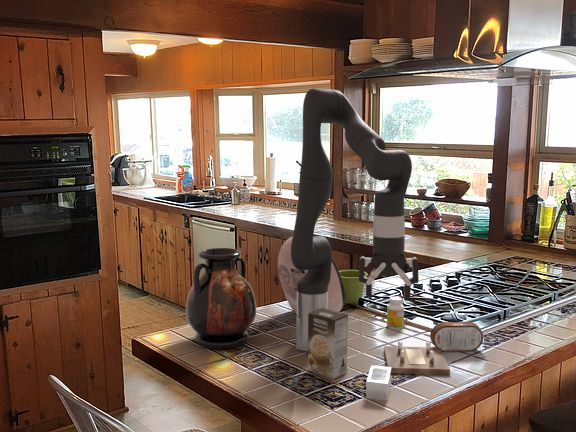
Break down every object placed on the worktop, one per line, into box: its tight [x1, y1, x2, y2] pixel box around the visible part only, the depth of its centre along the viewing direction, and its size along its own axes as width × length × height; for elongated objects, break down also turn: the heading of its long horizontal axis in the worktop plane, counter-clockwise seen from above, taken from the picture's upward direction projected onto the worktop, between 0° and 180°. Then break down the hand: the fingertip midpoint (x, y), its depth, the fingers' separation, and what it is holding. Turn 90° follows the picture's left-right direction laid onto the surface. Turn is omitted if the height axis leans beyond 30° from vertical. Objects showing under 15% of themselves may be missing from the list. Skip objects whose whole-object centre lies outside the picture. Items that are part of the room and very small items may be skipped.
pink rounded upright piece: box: [277, 235, 346, 314], centre depth 201 cm, size 22×20×30 cm
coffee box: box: [307, 308, 349, 380], centre depth 155 cm, size 9×6×16 cm
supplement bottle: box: [386, 296, 405, 330], centre depth 191 cm, size 5×5×10 cm
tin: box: [429, 321, 484, 353], centre depth 170 cm, size 15×3×8 cm, turn 91°
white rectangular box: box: [365, 365, 392, 401], centre depth 144 cm, size 5×10×5 cm, turn 165°
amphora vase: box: [185, 247, 258, 350], centre depth 179 cm, size 22×22×28 cm
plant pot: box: [339, 269, 369, 304], centre depth 219 cm, size 12×12×11 cm
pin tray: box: [383, 340, 451, 376], centre depth 162 cm, size 16×16×4 cm
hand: (388, 299), depth 143 cm, fingers open, 8 cm apart
